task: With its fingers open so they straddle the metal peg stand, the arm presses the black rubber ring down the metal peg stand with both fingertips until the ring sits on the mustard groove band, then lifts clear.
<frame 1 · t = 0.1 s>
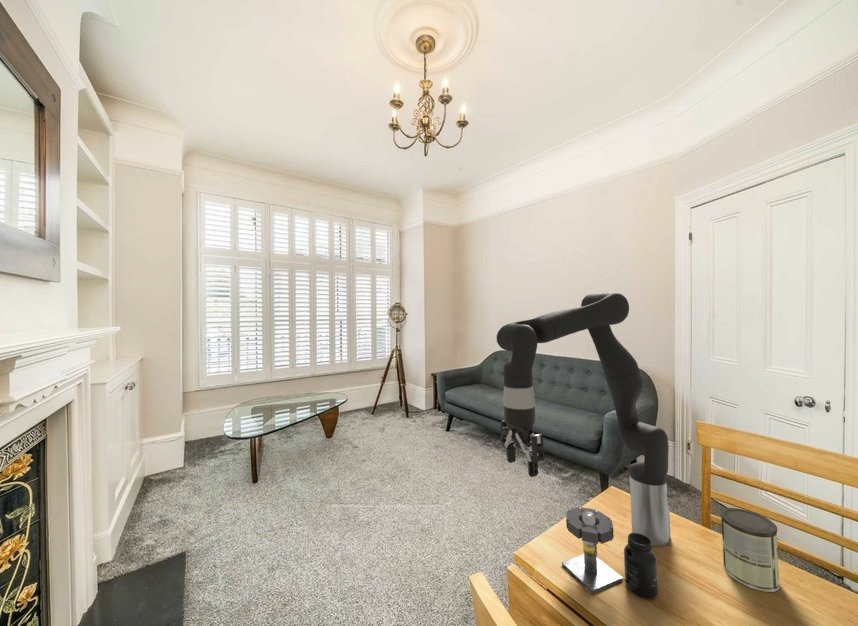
hand: (521, 468, 83), 29 cm above the table, fingers open, 8 cm apart
ring: (589, 524, 86), point 12 cm above the table, slide at 10.0 cm
supplement bottle: (641, 589, 81), on the table
metal peg stand: (591, 572, 86), on the table
coffee can: (750, 576, 83), on the table
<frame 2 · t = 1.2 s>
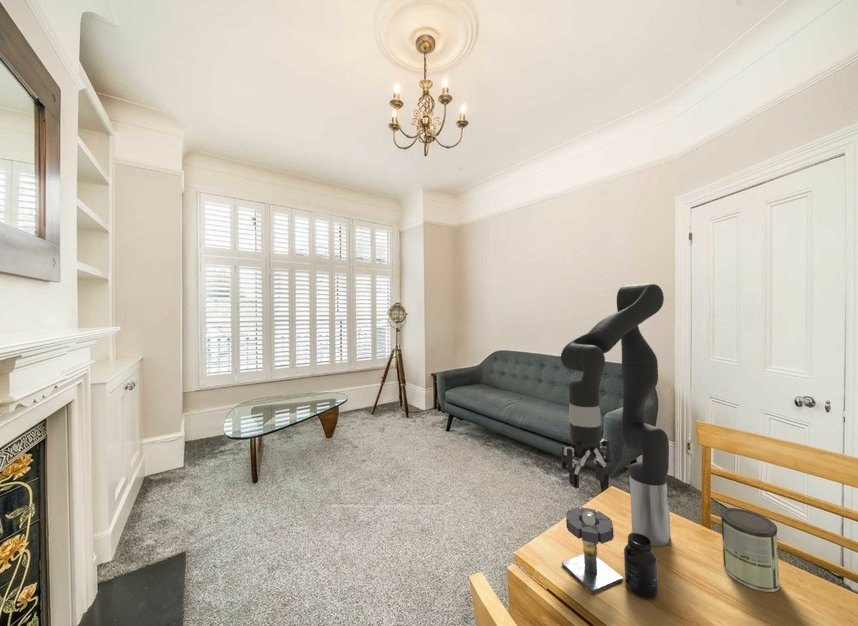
hand: (587, 483, 86), 23 cm above the table, fingers open, 8 cm apart
nothing on the table moved.
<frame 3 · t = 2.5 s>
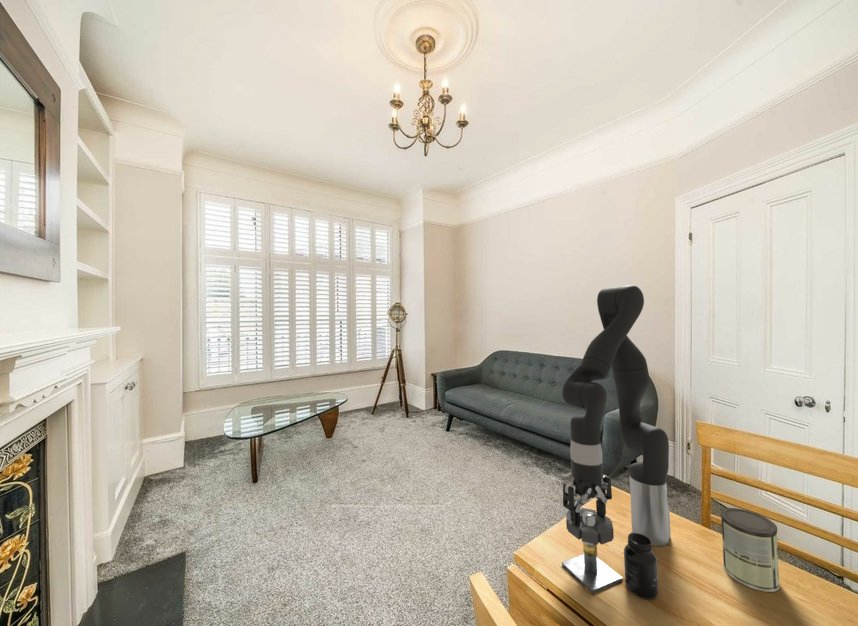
hand: (588, 520, 86), 14 cm above the table
ring: (589, 524, 86), point 12 cm above the table, slide at 9.8 cm, touching gripper
everything else where it was.
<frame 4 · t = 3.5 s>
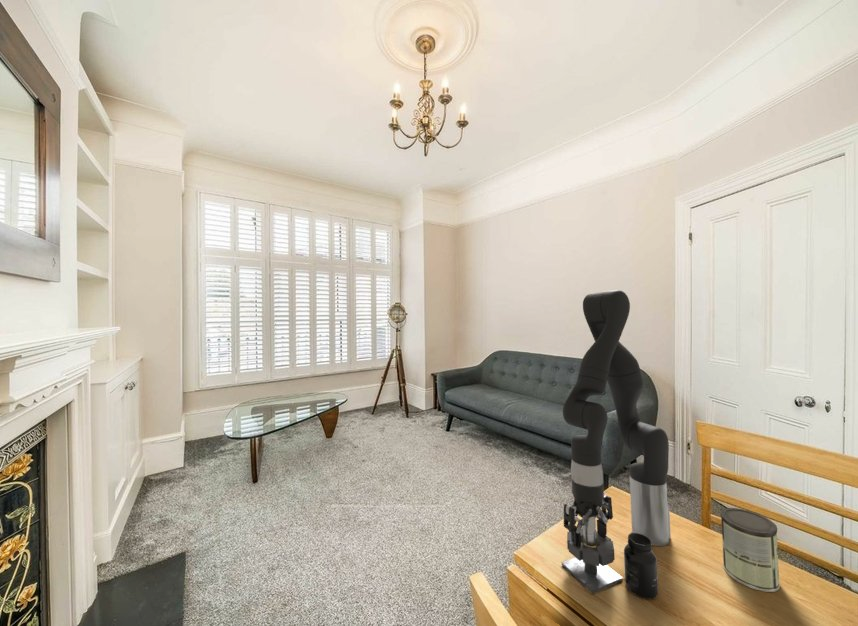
hand: (589, 540, 86), 8 cm above the table
ring: (590, 545, 86), point 7 cm above the table, slide at 4.6 cm, touching gripper
everything else where it was.
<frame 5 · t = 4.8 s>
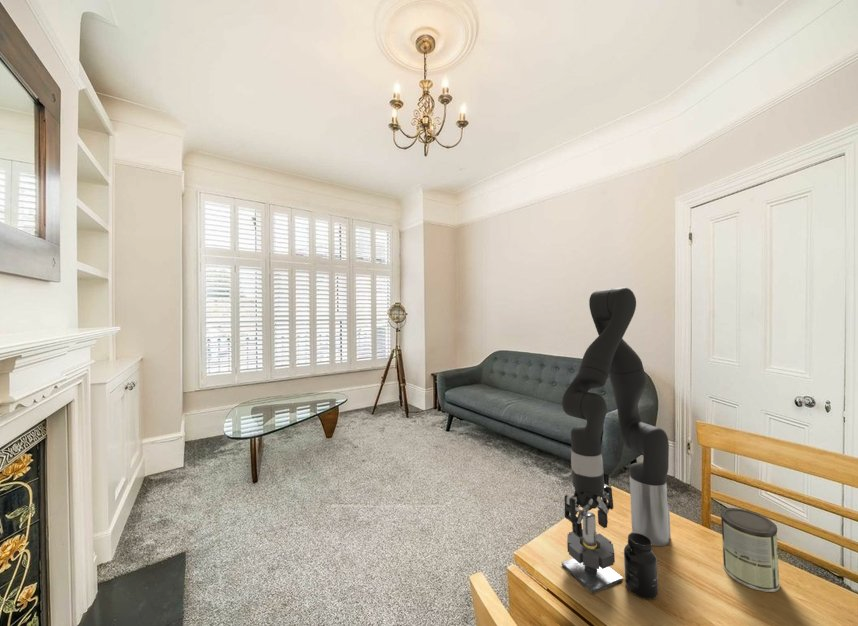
hand: (590, 530, 86), 11 cm above the table, fingers open, 8 cm apart
ring: (590, 547, 86), point 6 cm above the table, slide at 3.9 cm
everything else where it was.
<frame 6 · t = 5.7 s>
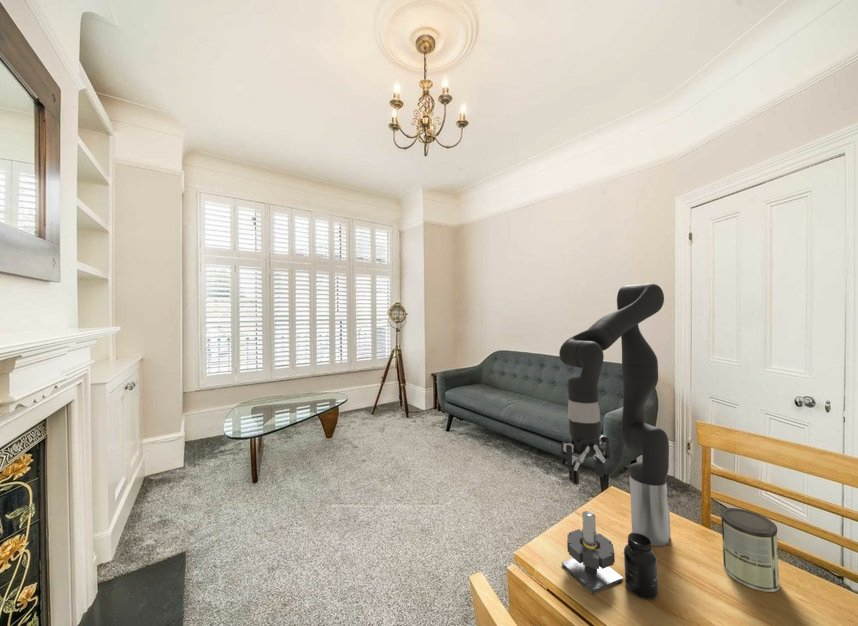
hand: (587, 479, 86), 24 cm above the table, fingers open, 8 cm apart
nothing on the table moved.
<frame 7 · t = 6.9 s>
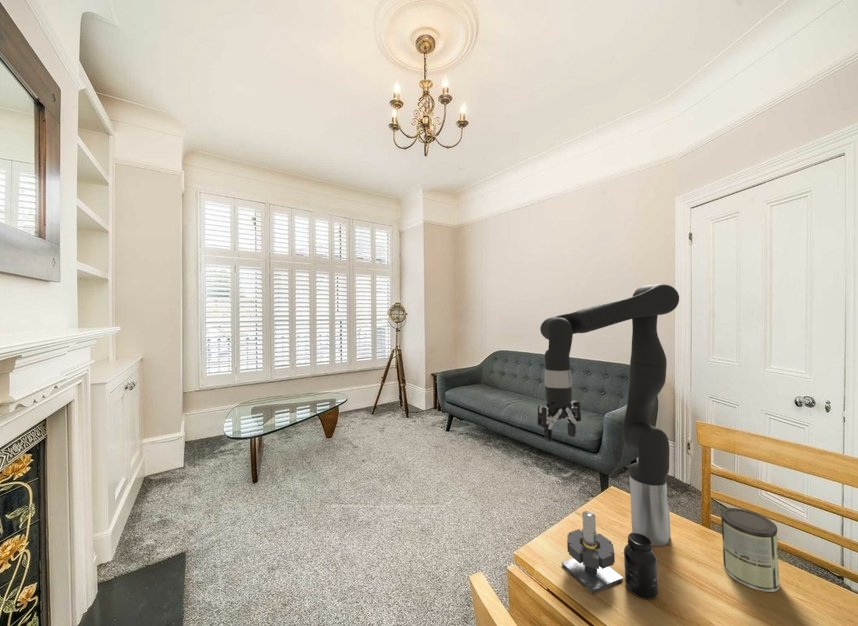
hand: (560, 438, 99), 30 cm above the table, fingers open, 8 cm apart
nothing on the table moved.
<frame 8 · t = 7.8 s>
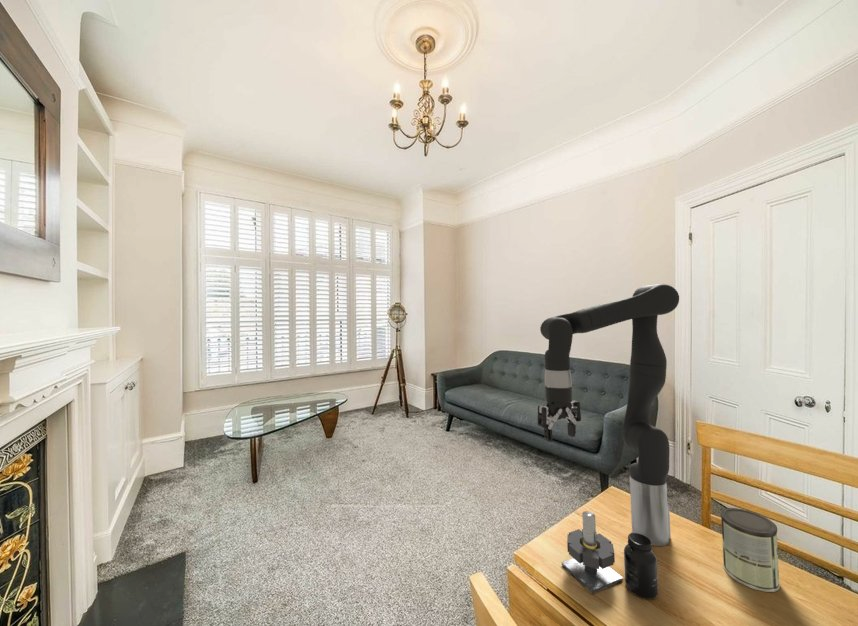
hand: (560, 438, 99), 30 cm above the table, fingers open, 8 cm apart
nothing on the table moved.
at the end: ring slide at 3.9 cm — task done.
